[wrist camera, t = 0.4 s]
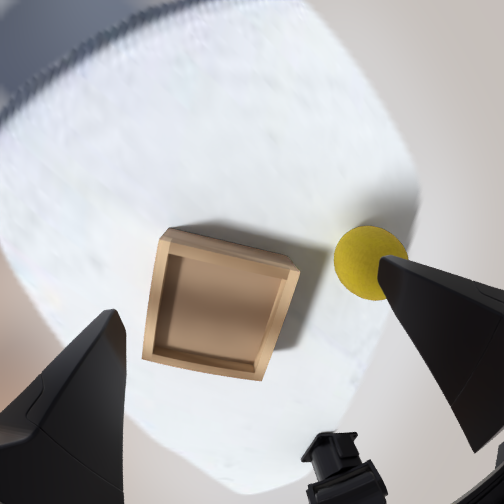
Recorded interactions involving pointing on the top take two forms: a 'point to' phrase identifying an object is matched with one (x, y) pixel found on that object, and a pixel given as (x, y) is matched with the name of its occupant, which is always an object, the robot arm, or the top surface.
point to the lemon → (365, 259)
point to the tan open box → (216, 305)
